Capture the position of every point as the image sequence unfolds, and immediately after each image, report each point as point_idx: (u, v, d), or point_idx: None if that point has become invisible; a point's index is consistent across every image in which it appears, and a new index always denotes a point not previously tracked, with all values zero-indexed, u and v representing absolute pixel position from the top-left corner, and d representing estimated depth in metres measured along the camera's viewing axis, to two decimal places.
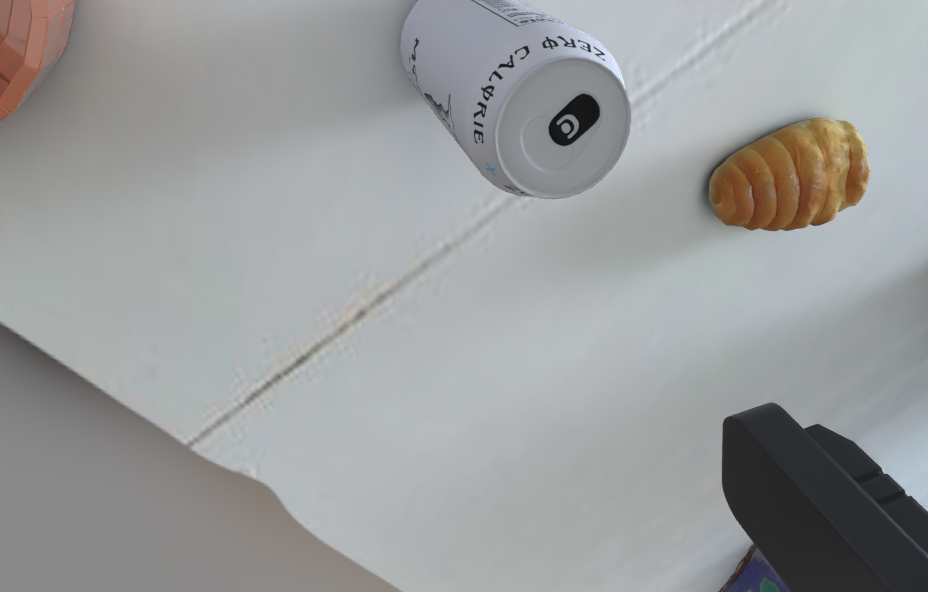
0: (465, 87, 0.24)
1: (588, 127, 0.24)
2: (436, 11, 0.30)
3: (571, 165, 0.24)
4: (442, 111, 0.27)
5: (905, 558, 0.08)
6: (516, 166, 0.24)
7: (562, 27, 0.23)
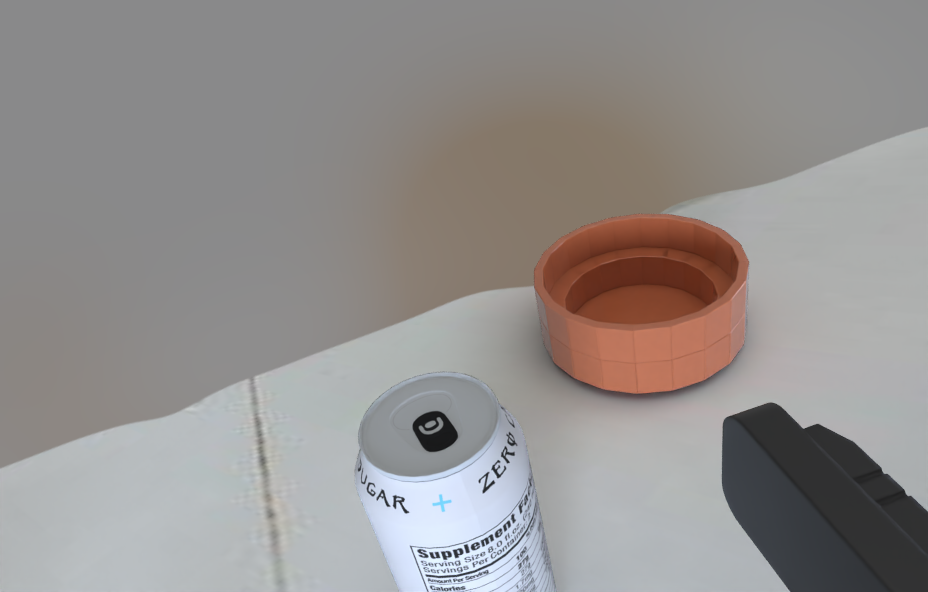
0: None
1: (422, 442, 0.23)
2: None
3: (390, 427, 0.24)
4: None
5: (905, 558, 0.08)
6: (414, 387, 0.25)
7: (520, 470, 0.23)
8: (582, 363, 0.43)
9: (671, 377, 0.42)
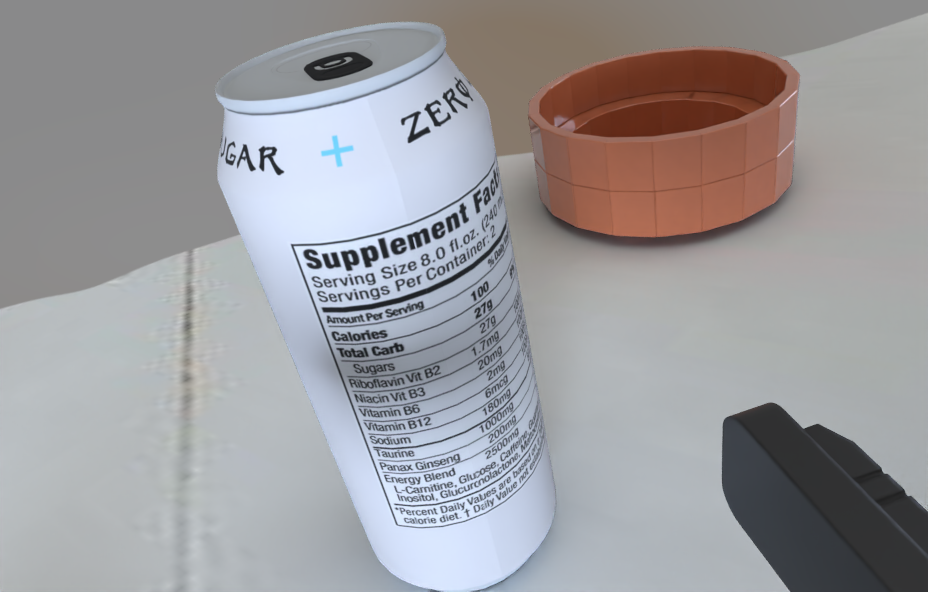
0: None
1: (314, 76, 0.14)
2: None
3: (271, 72, 0.15)
4: None
5: (905, 558, 0.08)
6: (319, 43, 0.16)
7: (476, 133, 0.14)
8: (586, 201, 0.34)
9: (701, 212, 0.33)
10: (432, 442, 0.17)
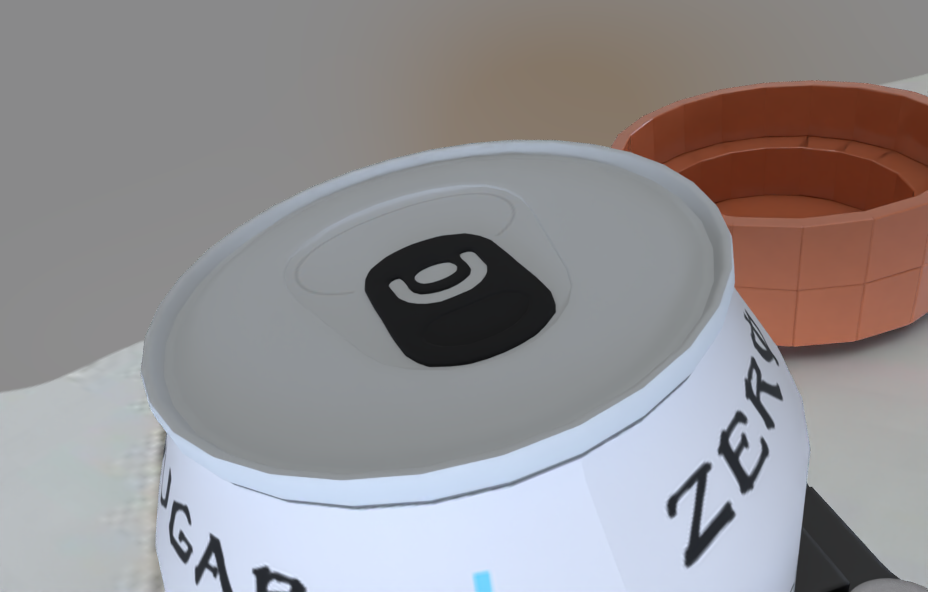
0: None
1: (399, 333, 0.05)
2: None
3: (282, 287, 0.06)
4: None
5: None
6: (384, 183, 0.08)
7: (806, 462, 0.06)
8: None
9: (858, 317, 0.24)
10: None
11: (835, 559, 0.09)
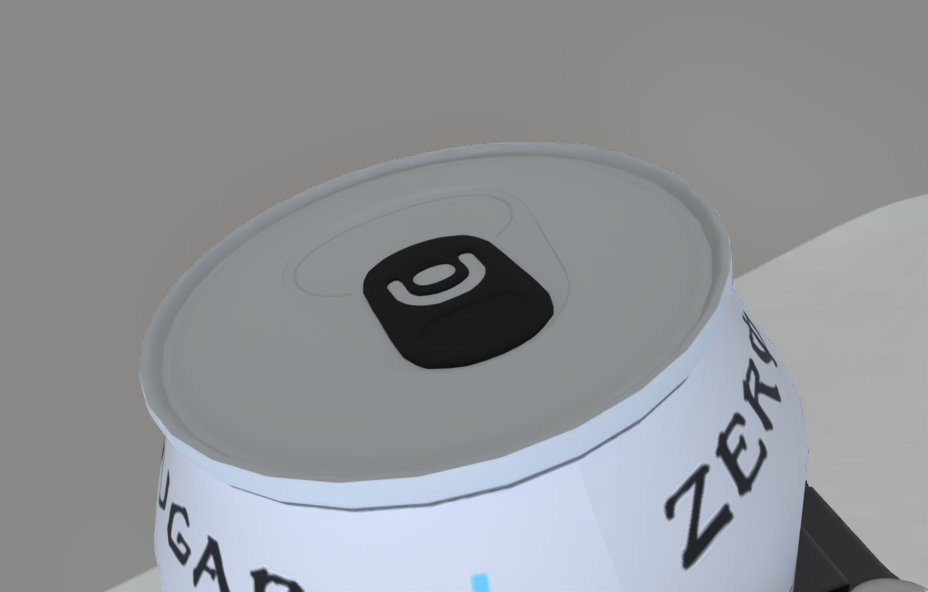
0: None
1: (397, 334, 0.05)
2: None
3: (282, 290, 0.06)
4: None
5: None
6: (382, 184, 0.08)
7: (804, 464, 0.06)
8: None
9: None
10: None
11: (835, 559, 0.09)
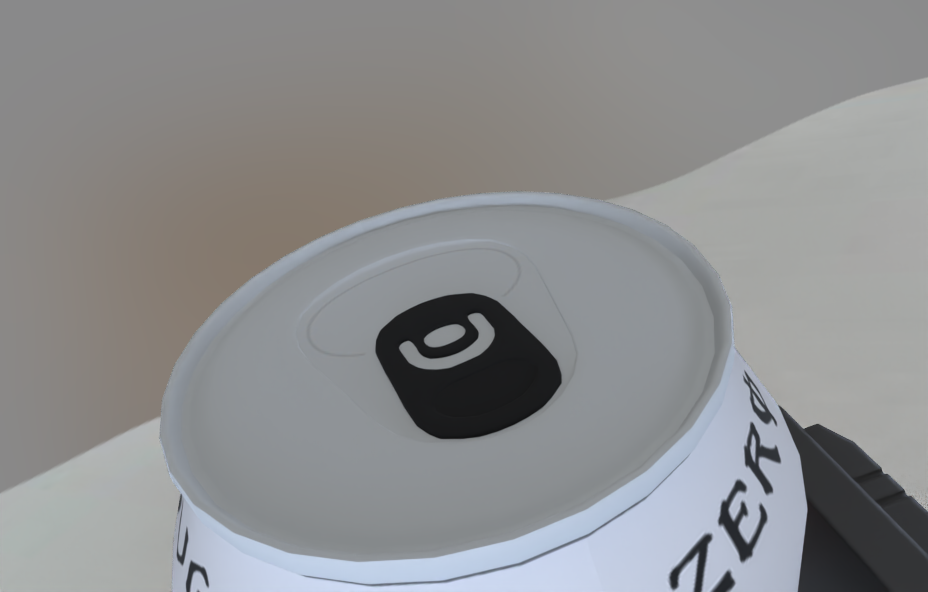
0: None
1: (409, 399, 0.05)
2: None
3: (295, 348, 0.06)
4: None
5: (905, 558, 0.08)
6: (391, 235, 0.08)
7: (803, 522, 0.06)
8: None
9: None
10: None
11: None
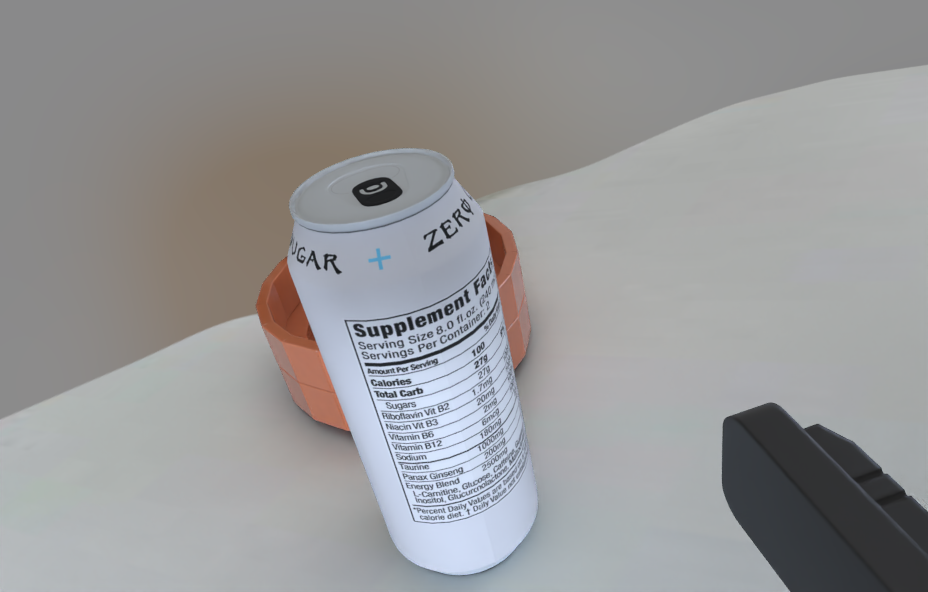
0: None
1: (361, 200, 0.20)
2: None
3: (327, 192, 0.20)
4: None
5: (905, 558, 0.08)
6: (359, 163, 0.22)
7: (475, 239, 0.20)
8: (316, 399, 0.33)
9: None
10: (442, 459, 0.22)
11: None
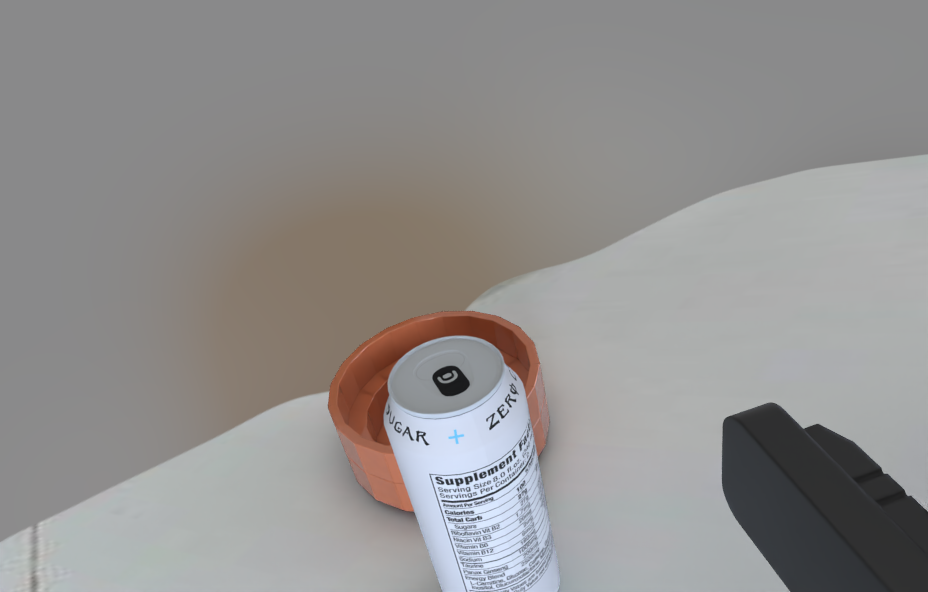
0: None
1: (440, 389, 0.28)
2: None
3: (414, 378, 0.29)
4: None
5: (905, 558, 0.08)
6: (433, 347, 0.30)
7: (520, 414, 0.28)
8: (379, 486, 0.41)
9: None
10: (493, 560, 0.30)
11: None
